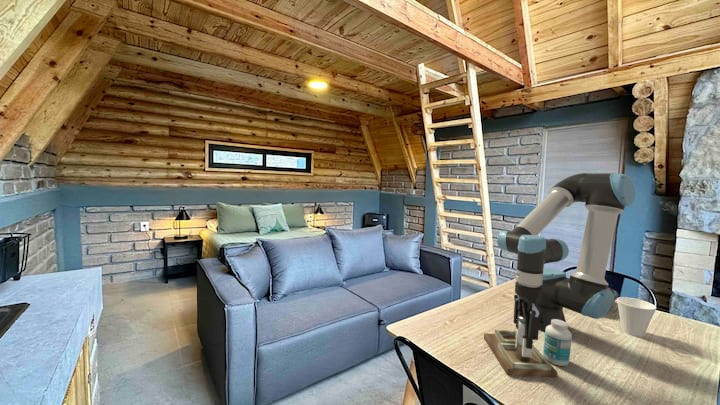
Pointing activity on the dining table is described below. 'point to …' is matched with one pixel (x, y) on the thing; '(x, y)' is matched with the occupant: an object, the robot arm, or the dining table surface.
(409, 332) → the dining table surface
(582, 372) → the dining table surface
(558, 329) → the pill bottle
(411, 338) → the dining table surface
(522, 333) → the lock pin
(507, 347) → the dock board
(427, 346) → the dining table surface
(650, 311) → the cup
